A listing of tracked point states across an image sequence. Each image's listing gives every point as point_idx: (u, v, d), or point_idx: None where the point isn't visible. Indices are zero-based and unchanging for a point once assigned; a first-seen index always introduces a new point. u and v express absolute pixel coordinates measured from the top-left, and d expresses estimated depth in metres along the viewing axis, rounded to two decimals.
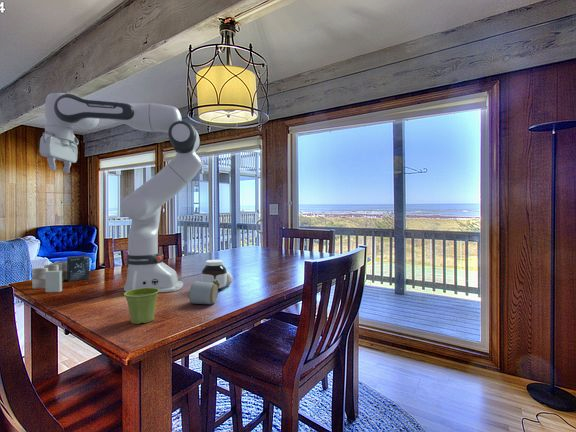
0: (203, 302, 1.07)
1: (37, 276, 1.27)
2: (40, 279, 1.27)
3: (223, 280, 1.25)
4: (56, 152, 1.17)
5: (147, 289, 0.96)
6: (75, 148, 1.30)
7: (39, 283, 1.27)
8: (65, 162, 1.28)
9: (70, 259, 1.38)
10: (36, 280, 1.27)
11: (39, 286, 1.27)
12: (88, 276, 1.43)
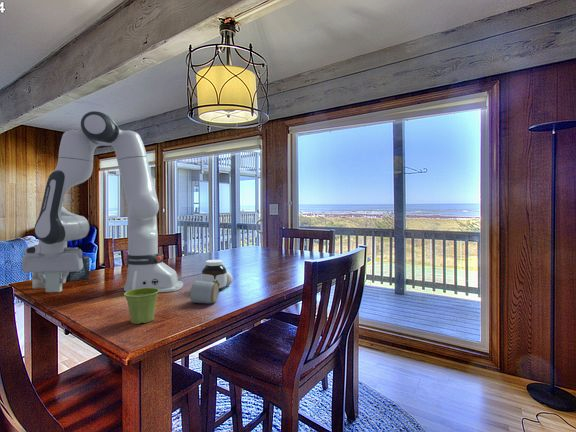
0: (204, 301, 1.07)
1: (37, 276, 1.27)
2: (40, 279, 1.27)
3: (223, 280, 1.25)
4: None
5: (147, 289, 0.96)
6: None
7: (39, 283, 1.27)
8: (42, 272, 1.22)
9: None
10: (36, 280, 1.27)
11: (39, 286, 1.27)
12: (88, 276, 1.43)
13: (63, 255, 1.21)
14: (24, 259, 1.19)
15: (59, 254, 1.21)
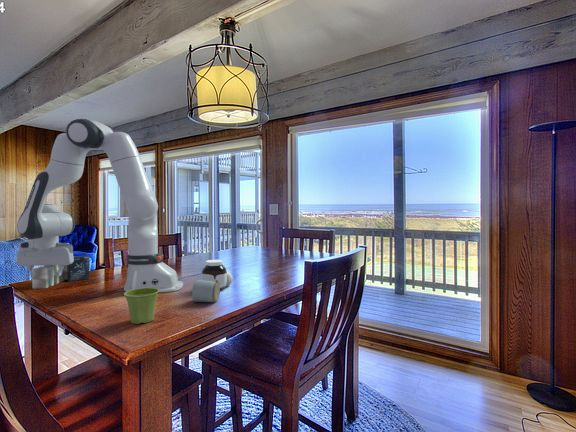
0: (205, 300, 1.09)
1: (37, 276, 1.27)
2: (40, 279, 1.27)
3: (223, 280, 1.25)
4: None
5: (147, 289, 0.96)
6: None
7: (39, 283, 1.27)
8: (31, 266, 1.30)
9: None
10: (36, 280, 1.27)
11: (39, 286, 1.27)
12: (88, 276, 1.43)
13: (54, 250, 1.30)
14: (18, 253, 1.28)
15: (51, 249, 1.30)
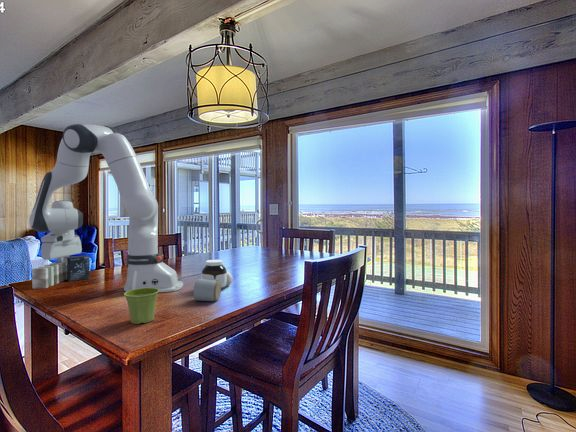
0: (207, 299, 1.10)
1: (37, 276, 1.27)
2: (40, 279, 1.27)
3: (223, 280, 1.25)
4: None
5: (147, 289, 0.96)
6: None
7: (39, 283, 1.27)
8: None
9: (70, 259, 1.38)
10: (36, 280, 1.27)
11: (39, 286, 1.27)
12: (88, 276, 1.43)
13: (73, 241, 1.48)
14: (52, 247, 1.35)
15: (71, 240, 1.46)
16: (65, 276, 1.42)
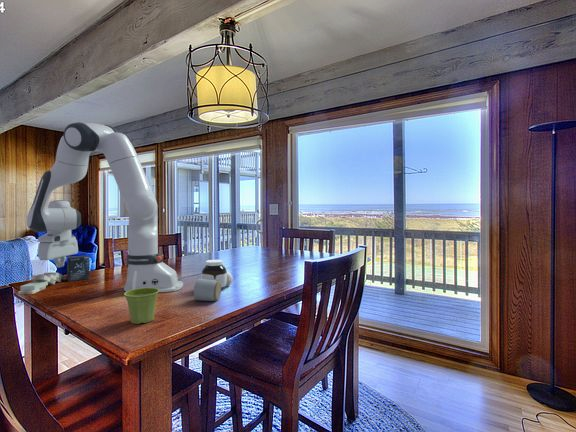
0: (207, 299, 1.10)
1: None
2: None
3: (223, 280, 1.25)
4: None
5: (147, 289, 0.96)
6: None
7: None
8: None
9: (70, 259, 1.38)
10: None
11: None
12: (88, 276, 1.43)
13: (70, 241, 1.46)
14: (50, 247, 1.33)
15: (68, 240, 1.44)
16: (62, 279, 1.40)
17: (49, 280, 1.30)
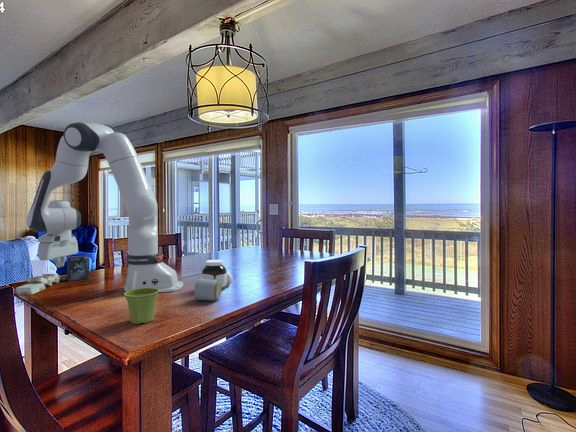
0: (207, 298, 1.11)
1: None
2: None
3: (223, 280, 1.25)
4: None
5: (147, 289, 0.96)
6: None
7: None
8: None
9: (70, 259, 1.38)
10: None
11: None
12: (88, 276, 1.43)
13: (70, 241, 1.46)
14: (50, 247, 1.33)
15: (68, 240, 1.44)
16: (61, 279, 1.39)
17: (46, 282, 1.28)
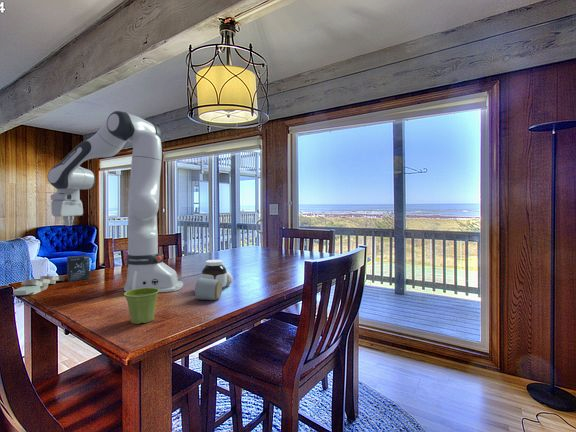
0: (208, 298, 1.11)
1: None
2: None
3: (223, 280, 1.25)
4: None
5: (147, 289, 0.96)
6: None
7: None
8: None
9: (70, 259, 1.38)
10: None
11: None
12: (88, 276, 1.43)
13: (77, 202, 1.53)
14: (63, 204, 1.40)
15: None
16: (60, 280, 1.38)
17: (41, 284, 1.25)
